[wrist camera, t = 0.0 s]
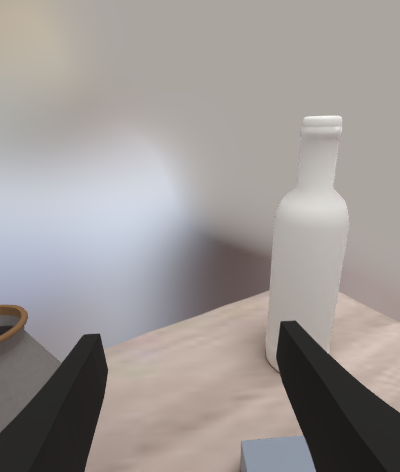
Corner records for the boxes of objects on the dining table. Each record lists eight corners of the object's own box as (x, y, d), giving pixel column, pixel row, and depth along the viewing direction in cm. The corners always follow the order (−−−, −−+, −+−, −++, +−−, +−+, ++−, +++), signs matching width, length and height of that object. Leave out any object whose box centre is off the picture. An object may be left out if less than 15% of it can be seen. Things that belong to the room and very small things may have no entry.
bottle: (252, 352, 41) (263, 117, 30) (290, 329, 46) (312, 116, 34) (300, 392, 35) (336, 116, 24) (339, 362, 39) (385, 114, 28)
